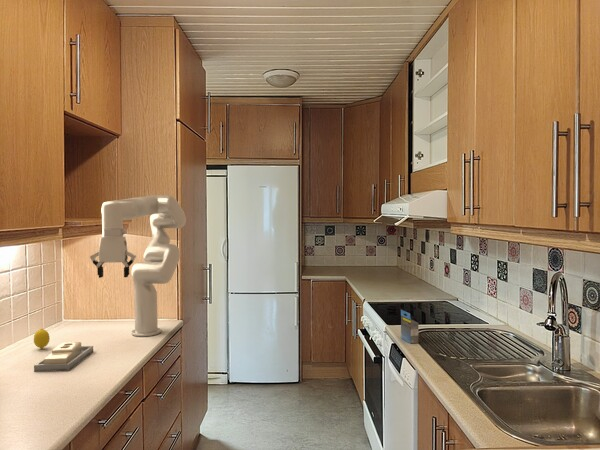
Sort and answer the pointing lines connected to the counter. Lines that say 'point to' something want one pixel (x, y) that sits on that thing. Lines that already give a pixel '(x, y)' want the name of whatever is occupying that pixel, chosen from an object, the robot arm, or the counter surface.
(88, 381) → the counter surface
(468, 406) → the counter surface
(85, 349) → the grey rectangular tray
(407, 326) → the label tape cartridge
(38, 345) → the lemon
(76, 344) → the electrical outlet
